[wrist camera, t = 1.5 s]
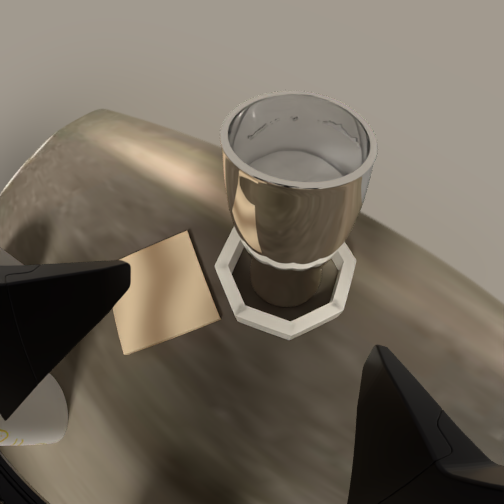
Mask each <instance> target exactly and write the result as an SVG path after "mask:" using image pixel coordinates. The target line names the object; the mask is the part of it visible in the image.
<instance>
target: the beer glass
mask: <svg viewBox="0 0 504 504" xmlns="http://www.w3.org/2000/svg"><path fill="white" fill-rule="evenodd" d="M220 142H221V146H222V156H223V170H224V181H225V189H226V195H227V201H228V206H229V210H230V213H231V217H232V221H233V224H234V226H235V229H236V231H237V233H238V235H239V237H240V240H241V242H242V243H243V245H244V247H245V249H246V250H247V252H248V254H249V255H250V257H251V259H252V262H251V267H250V280H251V284H252V286H253V288H254V290H255V292H256V293H257V294H258V295H259V296H260V297H261V298H262V299H263V300H264V301H266V302H268V303H270V304H272V305H275V306H278V307H294V306H297V305H300V304H302V303H304V302H306V301H308V300H309V299H310V298H311V297H312V296H313V295H314V294H315V293H316V291H317V290H318V288H319V285H320V282H321V276H322V270H321V268H322V267H323V266H324V265H325V264H326V263H327V262H328V261H329V260H330V259H331V258H332V257H333V256H334V255H335V254H336V252H337V251H338V250H339V248H340V247H341V246H342V244H343V243H344V242H345V240H346V239H347V237H348V236H349V234H350V232H351V230H352V228H353V226H354V224H355V222H356V220H357V218H358V215H359V213H360V210H361V207H362V204H363V202H364V199H365V195H366V192H367V188H368V185H369V180H370V177H371V172H372V168H373V165H374V162H375V160H376V157H377V152H378V144H377V139H376V136H375V134H374V131H373V129H372V128H371V126H370V125H369V123H368V122H367V121H366V120H365V119H364V118H363V117H362V116H361V115H360V114H359V113H358V112H357V111H355V110H354V109H352V108H351V107H349V106H348V105H346V104H344V103H342V102H340V101H338V100H336V99H333V98H330V97H327V96H324V95H321V94H317V93H312V92H305V91H277V92H271V93H266V94H262V95H259V96H256V97H253V98H251V99H248V100H246V101H244V102H243V103H241V104H240V105H238V106H237V107H235V108H234V109H233V110H232V111H231V112H230V113H229V114H228V116H227V117H226V118H225V120H224V122H223V124H222V126H221V130H220Z"/></svg>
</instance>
